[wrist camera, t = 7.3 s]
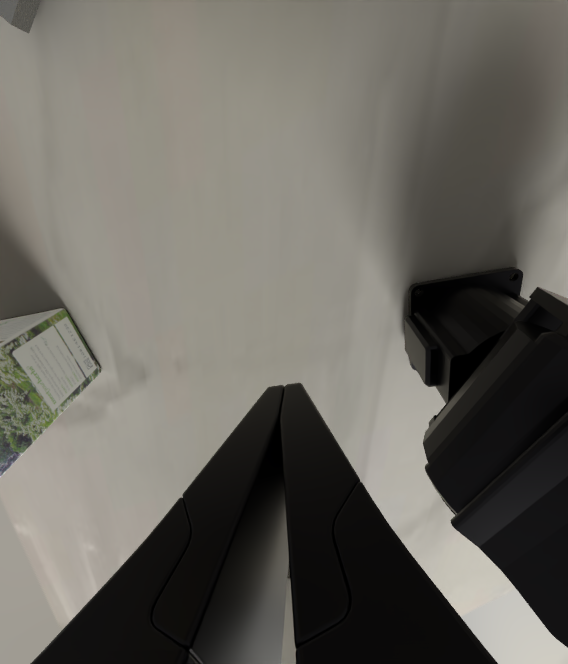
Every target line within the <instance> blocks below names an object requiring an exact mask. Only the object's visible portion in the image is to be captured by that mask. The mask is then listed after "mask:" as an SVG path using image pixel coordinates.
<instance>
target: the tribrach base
mask: <svg viewBox="0 0 568 664" xmlns="http://www.w3.org/2000/svg"><path fill="white" fill-rule="evenodd" d="M39 3H40V0H0V15H1V16H2V17H3V18H4V19H5V20H6V21H7V22H8V23H10V24H11V25H13V26H15V27H17V28H19V29H21V30H23V31H25V32H27V33H29V32H30V29H31V26H32V23H33V20H34V18H35V15H36V12H37V9H38V6H39Z"/></svg>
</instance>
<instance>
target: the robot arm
mask: <svg viewBox="0 0 568 664" xmlns="http://www.w3.org/2000/svg"><path fill="white" fill-rule="evenodd" d="M512 274H514V277H513V278H511V279H509V277H510V276H511V275H512ZM522 278H523V272H522V271H521V270H519V269H517V268H515V267H510V268H504V269H498V270H492V271H486V272H480V273H474V274H468V275H462V276H456V277H450V278H444V279H438V280H433V281H427V282H421V283H416V284H413V285H412V286H411V287H410V289H409V315H408V316H407V317H406V318H405V319H404V323H405V351H406V352H407V354H408V356H409V358H410V365H411V367H412V368H413V369H414V370H416V371H417V372H418V373H419V375H420V377H421V379H422V380H423V382H424V384H425V385H427V386H428V387H433V386H436V388H437V390H438V391H439V393H440V395H441V396H442V398H443V399H444V401H445V403H446V405H445V406H444V407H443V409H442V410H441V411H440V412H439V414H438V415H437V416H436V415H435V416H434V417H433V418H432V419H431V420H430V422H429V428H428V429H427V431H426V432H425V436H424V441H423V445H424V449H425V453H426V457H427V461H428V463H427V464H426V465H425V470H426V473H427V475H428V477H429V479H430V480H431V482H432V484H433V486H434V487H435V489H436V491H437V492H438V493H439V495H440V496H441V498H442V499H443V501H444V502H445V504H446V505H447V506H448V507H449V508H450V510H451V511H452V512H453V513H454V514H455V515H456V516H455V517H453V518H452V519H451V524H452V526H453V527H454V528H455V529H456V530H457V531H459V532H460V533H461V534H462V535H464V536H465V537H466V538H467V539H469V540H470V541H471V542H472V543H474V544H475V545H476V546H477V547H479V548H480V549H481V550H482V551H483V552H484V553H485V554H486V555H487V556H488V557H489V558H490V559H491V560H492V561H493V562H494V564H495V565H496V566H497V567H498V568H499V569H500V570H501V571H502V572H503V573H504V574H505V576H506V577H507V578H508V579H509V580H510V582H511V583H512V584H513V585H514V586H515V588H516V589H517V590H518V591H519V593H520V594H521V595H522V597H523V598H524V599H525V601H526V602H527V603H528V604H529V606H530V607H531V608H532V610H533V611H534V612H535V614H536V615H537V616H538V617H539V619H540V620H541V621H542V623H543V624H544V625H545V627H546V628H547V629H548V630H549V632H550V633H551V634H552V635H553V636H554V637H555V638H556V639H558V640H559V641H560V642H561V643H563V644H564V645H565V646H567V647H568V299H567V298H565V297H562V296H560V295H557V294H555V293H552V292H550V291H547V290H545V289H542V288H540V287H537V288H536V289H535V291H534V292H533V293H532V294H531V296H530V297H529V298H531V300H530V301H527V300H526V299H524V298H522V297H521V296H520V291H521V284H522ZM418 289H421V292H420V293H419V294H415V291H416V290H418ZM288 564H289V567H290V582H291V597H292V612H293V627H294V642H295V648H296V664H498V663H497V662H496V661H495V660H494V658H493V657H492V656H491V655H490V654H489V652H488V651H487V650H486V649H485V648H484V646H483V645H482V644H481V642H480V641H479V640H478V639H477V637H476V636H475V635H474V634H473V633H472V631H471V630H470V629H469V627H468V626H467V625H466V624H465V622H464V621H463V620H462V618H461V617H460V616H459V615H458V613H457V612H456V611H455V609H454V608H453V607H452V606H451V604H450V603H449V602H448V601H447V599H446V598H445V597H444V596H443V594H442V593H441V592H440V590H439V589H438V588H437V587H436V585H435V584H434V583H433V582H432V580H431V579H430V578H429V577H428V575H427V574H426V573H425V571H424V570H423V569H422V568H421V566H420V565H419V564H418V563H417V561H416V560H415V559H414V558H413V556H412V555H411V554H410V552H409V551H408V550H407V548H406V547H405V546H404V544H403V543H402V542H401V540H400V539H399V537H398V536H397V535H396V533H395V532H394V531H393V529H392V528H391V527H390V525H389V524H388V522H387V521H386V519H385V518H384V516H383V515H382V513H381V512H380V510H379V509H378V507H377V506H376V504H375V503H374V501H373V500H372V498H371V496H370V495H369V493H368V492H367V490H366V488H365V487H364V485H363V483H362V482H360V479H359V477H358V476H357V474H356V472H355V471H354V469H353V467H352V466H351V464H350V462H349V461H348V459H347V457H346V456H345V454H344V452H343V451H342V449H341V448H340V446H339V444H338V443H337V441H336V439H335V438H334V436H333V434H332V433H331V431H330V429H329V428H328V426H327V425H326V423H325V421H324V420H323V418H322V416H321V415H320V413H319V411H318V410H317V408H316V406H315V405H314V403H313V402H312V400H311V398H310V397H309V395H308V393H307V392H306V390H305V388H304V387H303V385H302V384H301V383H294V384H287V385H286V386H285V387H284V386H283V385H279V386H272V387H268V388H267V389H266V391H265V392H264V393H263V394H262V396H261V397H260V398H259V399H258V401H257V402H256V403H255V404H254V406H253V407H252V408H251V409H250V411H249V412H248V413H247V414H246V416H245V417H244V418H243V419H242V421H241V422H240V423H239V424H238V426H237V427H236V428H235V429H234V431H233V432H232V433H231V434H230V436H229V437H228V438H227V439H226V441H225V442H224V443H223V444H222V446H221V447H220V448H219V449H218V451H217V452H216V453H215V454H214V456H213V457H212V458H211V459H210V461H209V462H208V463H207V465H206V466H205V467H204V468H203V470H202V471H201V472H200V473H199V475H198V476H197V477H196V478H195V480H194V481H193V482H192V483H191V485H190V486H189V487H188V488H187V490H186V491H185V492H184V493H183V498H179V499H178V501H177V502H176V503H175V504H174V506H173V507H172V508H171V509H170V511H169V512H168V513H167V514H166V516H165V517H164V518H163V519H162V520H161V522H160V523H159V524H158V525H157V526H156V528H155V529H154V530H153V531H152V532H151V534H150V535H149V536H148V537H147V538H146V540H145V541H144V542H143V543H142V544H141V545H140V546H139V547H138V549H137V550H136V551H135V552H134V553H133V554H132V555H131V556H130V557H129V559H128V560H127V561H126V562H125V563H124V564H123V565H122V566H121V567H120V569H119V570H118V571H117V572H116V573H115V574H114V575H113V576H112V577H111V578H110V579H109V580H108V582H107V583H106V584H105V585H104V586H103V587H102V588H101V589H100V590H99V591H98V592H97V593H96V594H95V596H94V597H93V598H92V599H91V600H90V601H89V602H88V603H87V604H86V605H85V606H84V607H83V608H82V610H81V611H80V612H79V613H78V614H77V615H76V616H75V617H74V618H73V619H72V620H71V621H70V622H69V624H68V625H67V626H66V627H65V628H64V629H63V630H62V631H61V632H60V633H59V634H58V635H57V637H56V638H55V639H54V640H53V641H52V642H51V643H50V644H49V645H48V646H47V647H46V648H45V650H43V652H41V654H40V655H39V656H38V657H37V658H36V659H35V660H34V661H33V662H32V663H31V664H281V661H282V647H283V633H284V619H285V606H286V592H287V578H288Z"/></svg>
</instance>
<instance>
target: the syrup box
mask: <svg viewBox="0 0 568 664" xmlns="http://www.w3.org/2000/svg"><path fill="white" fill-rule="evenodd" d="M100 372H101V369H100V367H99V366H98V364H97V362H96V360H95V359H94V357H93V356H92V354H91V352H90V351H89V349H88V347H87V345H86V344H85V342H84V340H83V338H82V337H81V335H80V333H79V332H78V330H77V328H76V327H75V325H74V323H73V321H72V320H71V318H70V316H69V315H68V313H67V312H66V310H65V309H64V308H61V309H56V310H51V311H46V312H41V313H36V314H31V315H26V316H21V317H16V318H10V319H5V320H0V477H1V476H2V475H3V474H4V473H5V472H6V471H7V470H8V469H9V468H10V467H11V466H12V465H13V464H14V463H15V462H16V461H17V460H18V459H19V458H20V457H21V455H22V454H23V453H24V452H25V451H26V450H27V449H28V448H29V447H30V446H31V445H32V444H33V443H34V442H35V441H36V440H37V439H38V438H39V437H40V436H41V435H42V434H43V433H44V432H45V430H46V429H47V428H48V427H49V426H50V425H51V424H52V423H53V422H54V421H55V420H56V419H57V418H58V417H59V416H60V415H61V413H62V412H63V411H64V410H65V409H66V408H67V407H68V406H69V405H70V404H71V403H72V402H73V401H74V400H75V399H76V398H77V397H78V396H79V394H80V393H81V392H82V391H83V390H84V389H85V388H86V387H87V386H88V385H89V384H90V383H91V382H92V381H93V380H94V379H95V378H96V377H97V376H98V375H99V374H100Z"/></svg>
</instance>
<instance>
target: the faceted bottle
mask: <svg viewBox="0 0 568 664" xmlns="http://www.w3.org/2000/svg"><path fill="white" fill-rule="evenodd" d="M281 664H296V648H295V642H294V627H293V612H292V597H291V582H290V578H287V592H286V606H285V619H284V633H283V647H282V661H281Z"/></svg>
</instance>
